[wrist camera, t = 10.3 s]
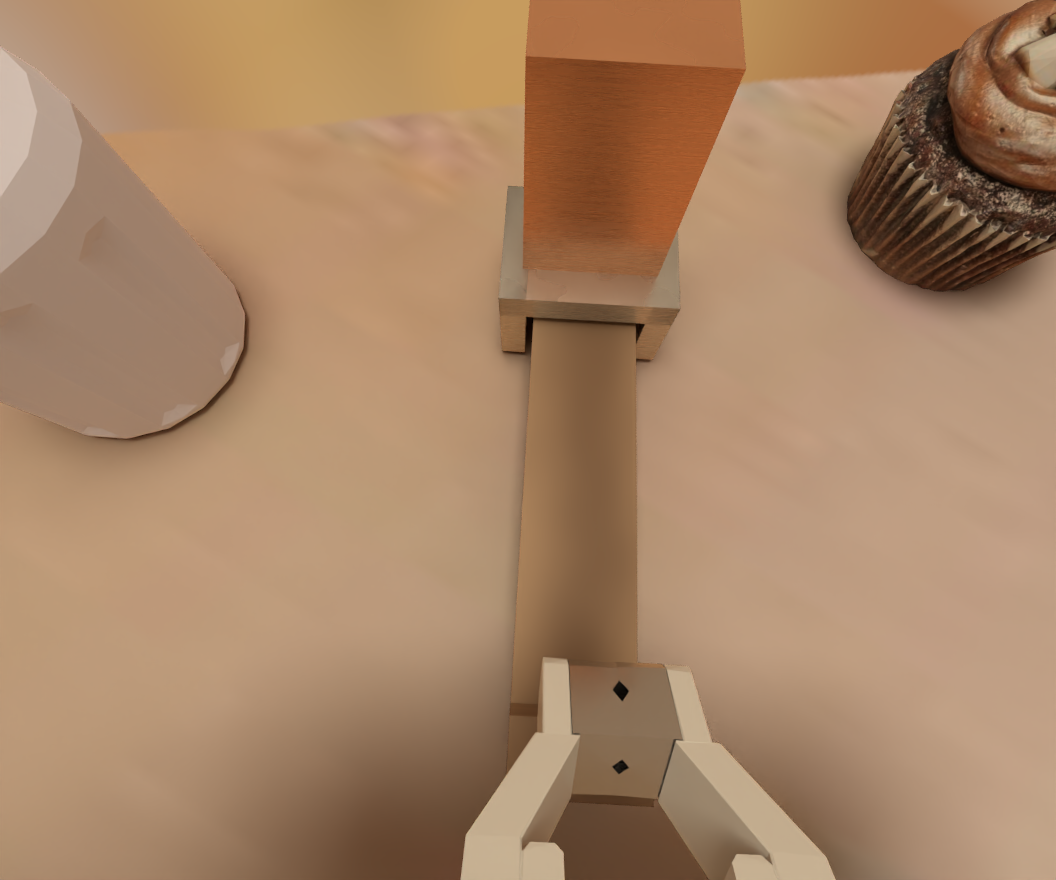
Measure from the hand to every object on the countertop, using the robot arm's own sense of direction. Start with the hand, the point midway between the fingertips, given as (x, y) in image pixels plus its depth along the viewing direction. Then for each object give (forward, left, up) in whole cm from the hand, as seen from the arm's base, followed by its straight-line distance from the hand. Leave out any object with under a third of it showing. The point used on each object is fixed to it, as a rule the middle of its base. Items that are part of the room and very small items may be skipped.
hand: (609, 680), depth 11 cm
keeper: (0, +14, -9) cm, 17 cm away
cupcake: (+17, +20, -10) cm, 28 cm away
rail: (0, +7, -9) cm, 12 cm away
